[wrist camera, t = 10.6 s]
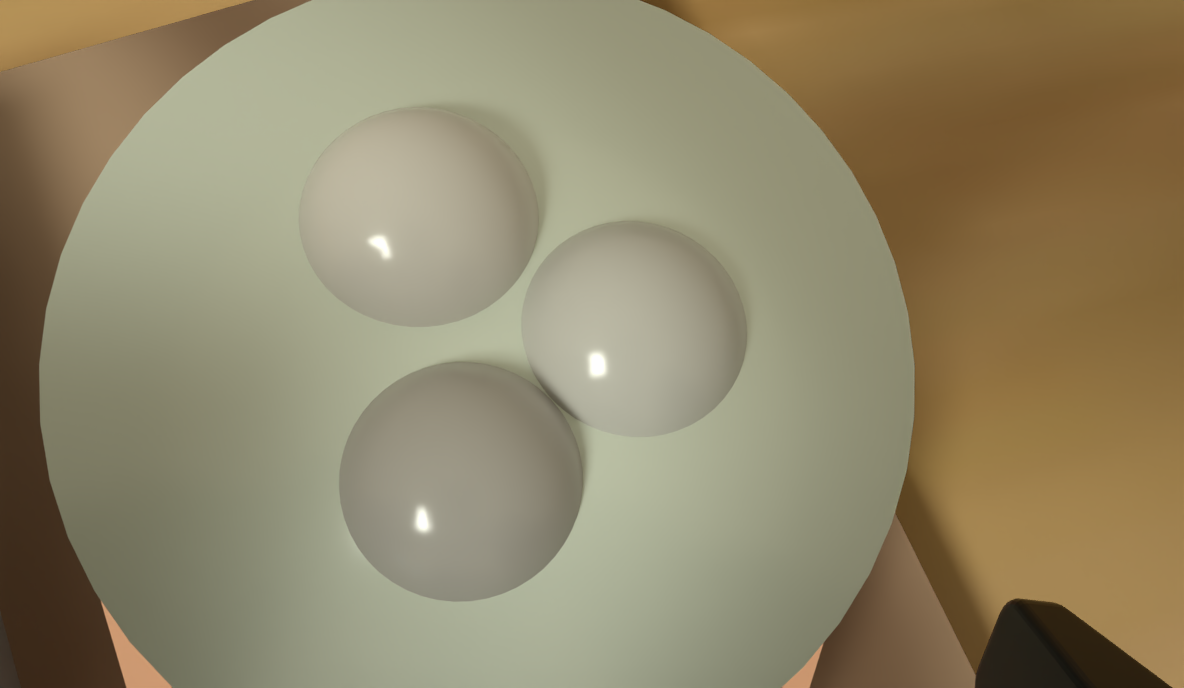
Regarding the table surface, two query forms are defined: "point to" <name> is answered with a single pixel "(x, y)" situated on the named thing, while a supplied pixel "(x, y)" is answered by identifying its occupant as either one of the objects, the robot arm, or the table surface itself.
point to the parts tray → (7, 662)
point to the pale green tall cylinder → (476, 359)
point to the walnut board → (12, 393)
